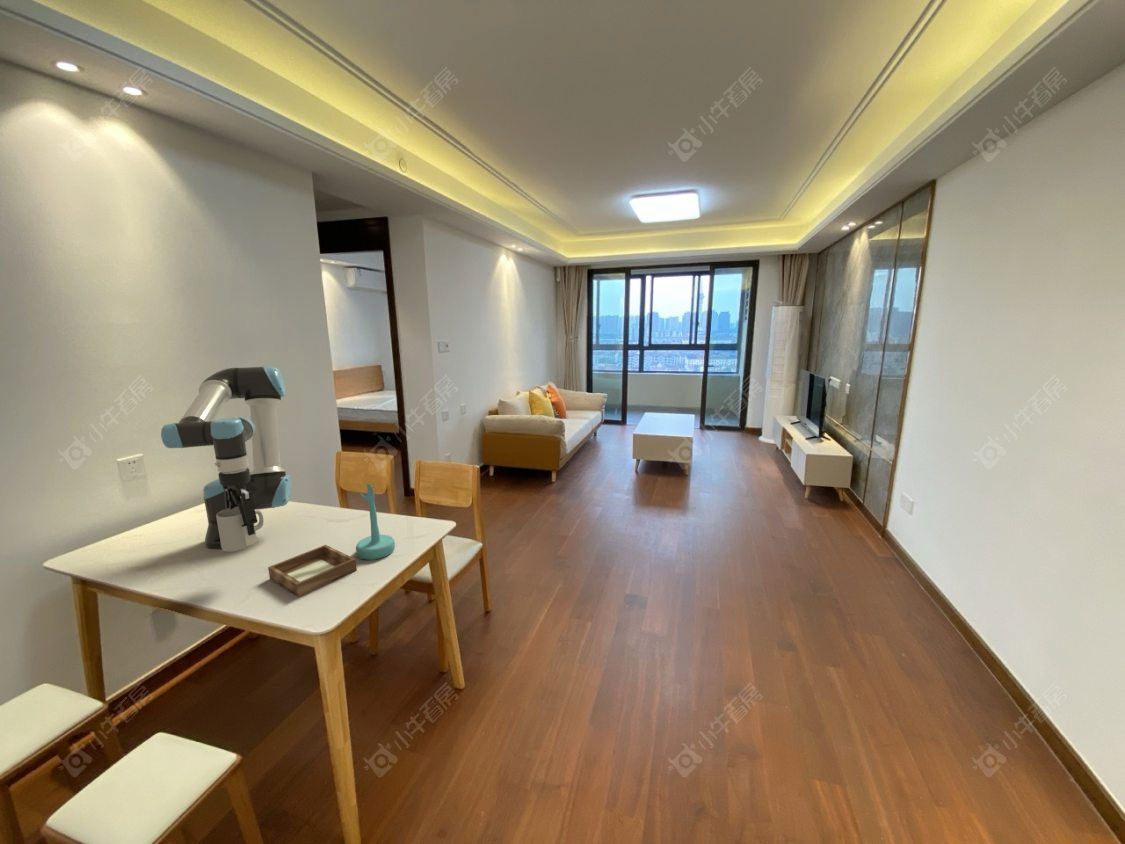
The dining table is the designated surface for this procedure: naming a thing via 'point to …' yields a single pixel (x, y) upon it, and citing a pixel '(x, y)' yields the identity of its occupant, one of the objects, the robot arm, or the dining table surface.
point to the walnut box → (312, 570)
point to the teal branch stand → (374, 535)
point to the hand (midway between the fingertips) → (245, 539)
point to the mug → (234, 529)
